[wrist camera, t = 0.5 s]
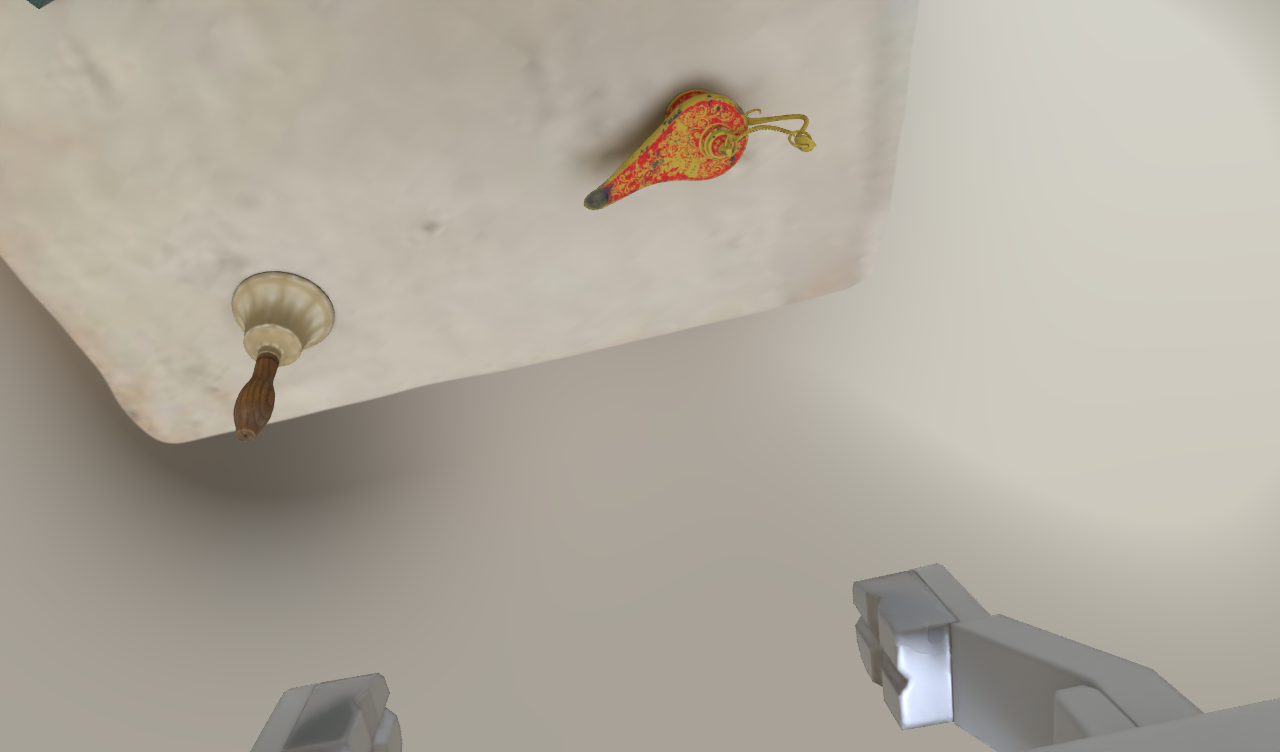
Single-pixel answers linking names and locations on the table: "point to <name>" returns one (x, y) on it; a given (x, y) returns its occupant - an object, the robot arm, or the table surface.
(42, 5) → the storage box
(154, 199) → the table surface
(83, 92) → the table surface
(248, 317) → the hand bell
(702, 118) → the magic lamp
